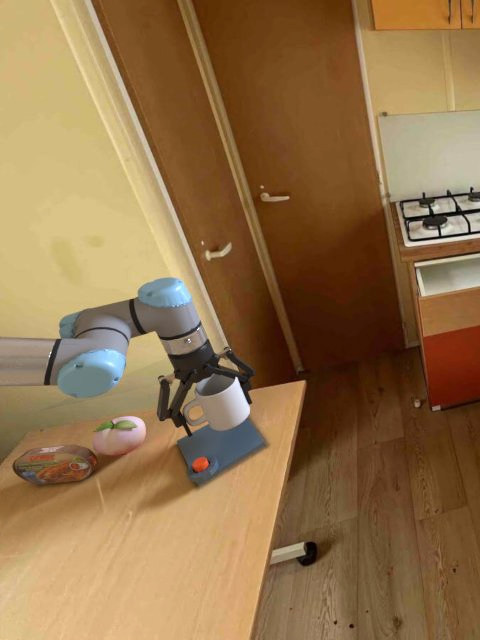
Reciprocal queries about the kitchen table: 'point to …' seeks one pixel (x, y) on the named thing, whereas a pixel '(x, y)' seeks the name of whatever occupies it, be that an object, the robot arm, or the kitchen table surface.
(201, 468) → the scale button
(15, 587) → the kitchen table surface
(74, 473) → the tin
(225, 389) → the mug
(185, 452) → the scale
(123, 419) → the decorative fruit
